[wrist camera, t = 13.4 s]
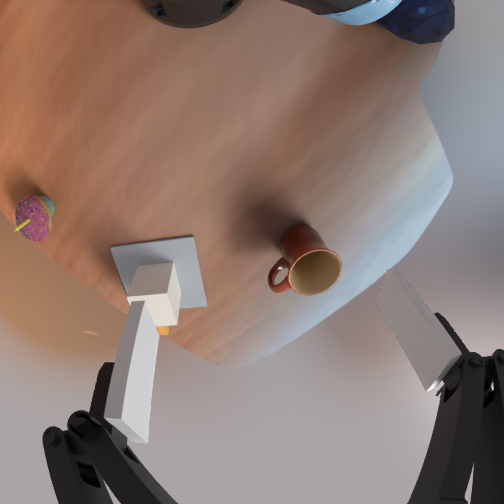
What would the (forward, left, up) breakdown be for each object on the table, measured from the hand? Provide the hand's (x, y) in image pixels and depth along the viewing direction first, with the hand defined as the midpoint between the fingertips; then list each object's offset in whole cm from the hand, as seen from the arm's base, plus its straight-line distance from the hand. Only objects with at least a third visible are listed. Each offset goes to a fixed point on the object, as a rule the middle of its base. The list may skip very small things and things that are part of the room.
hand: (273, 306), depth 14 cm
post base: (+20, -16, -32) cm, 41 cm away
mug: (+16, +9, -32) cm, 37 cm away
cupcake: (+2, -36, -32) cm, 48 cm away
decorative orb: (-29, +28, -32) cm, 51 cm away
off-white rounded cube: (+22, -16, -31) cm, 41 cm away
